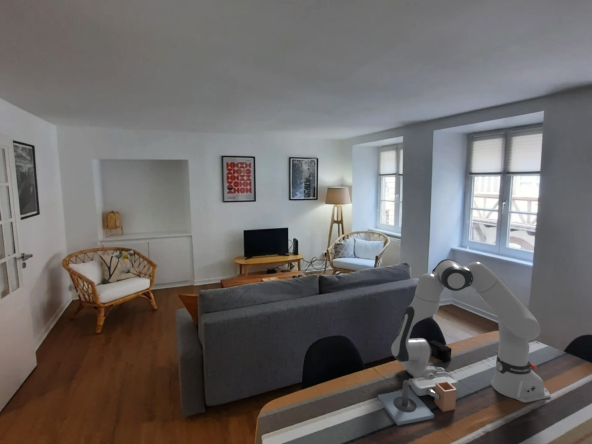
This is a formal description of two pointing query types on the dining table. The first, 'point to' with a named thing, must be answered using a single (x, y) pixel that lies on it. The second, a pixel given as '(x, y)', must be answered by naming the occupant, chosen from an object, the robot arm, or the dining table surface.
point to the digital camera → (440, 351)
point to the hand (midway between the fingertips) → (446, 396)
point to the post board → (405, 406)
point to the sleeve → (445, 396)
